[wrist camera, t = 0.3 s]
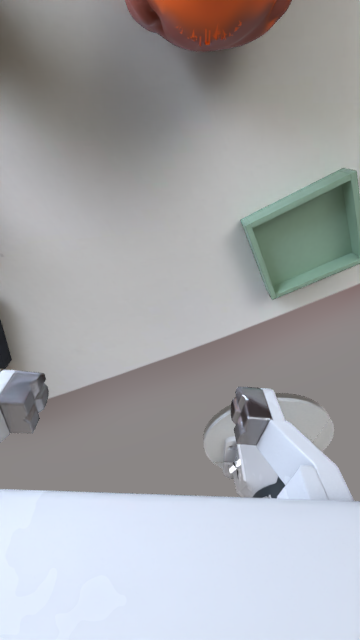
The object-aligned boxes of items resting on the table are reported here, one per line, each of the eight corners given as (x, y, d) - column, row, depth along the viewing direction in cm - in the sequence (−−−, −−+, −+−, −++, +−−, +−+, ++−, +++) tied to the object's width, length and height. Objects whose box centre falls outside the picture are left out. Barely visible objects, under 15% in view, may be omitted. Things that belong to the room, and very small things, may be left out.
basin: (266, 290, 36) (272, 300, 34) (240, 219, 31) (244, 226, 29) (355, 252, 33) (367, 260, 31) (343, 167, 28) (357, 170, 26)
